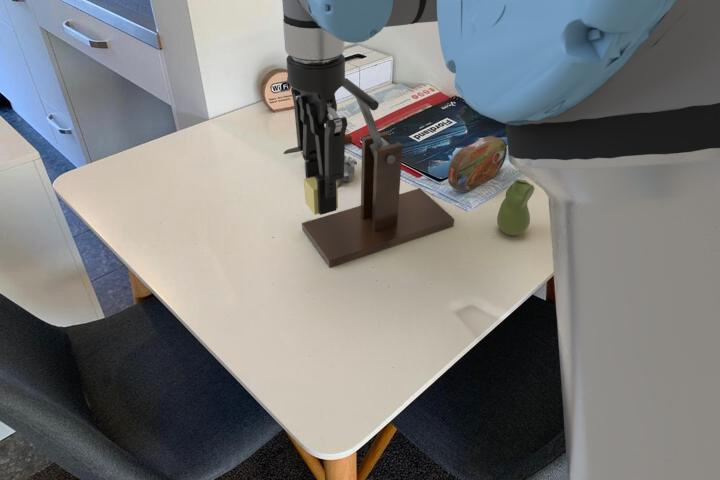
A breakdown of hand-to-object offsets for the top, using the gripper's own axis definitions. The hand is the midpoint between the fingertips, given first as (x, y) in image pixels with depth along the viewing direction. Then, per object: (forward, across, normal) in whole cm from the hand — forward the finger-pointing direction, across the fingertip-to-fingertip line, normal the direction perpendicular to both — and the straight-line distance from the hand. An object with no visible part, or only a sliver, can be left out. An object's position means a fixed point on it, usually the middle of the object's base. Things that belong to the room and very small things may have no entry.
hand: (321, 203), depth 81 cm
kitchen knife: (+9, +30, -13) cm, 34 cm away
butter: (0, 0, 0) cm, 0 cm away
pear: (+8, -11, -30) cm, 33 cm away
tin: (+9, +4, -35) cm, 36 cm away
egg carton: (+9, +20, -10) cm, 24 cm away
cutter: (-11, 0, -7) cm, 13 cm away
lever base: (+8, 0, -10) cm, 13 cm away
